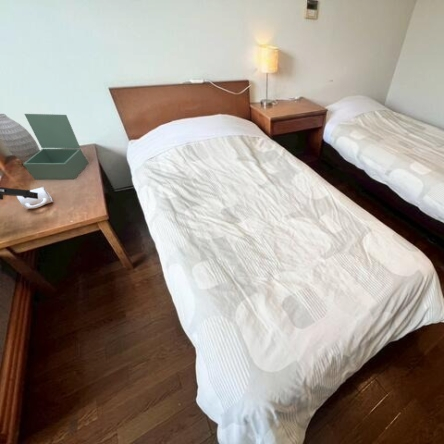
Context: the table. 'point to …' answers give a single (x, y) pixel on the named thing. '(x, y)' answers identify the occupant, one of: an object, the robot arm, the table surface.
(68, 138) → the lid
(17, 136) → the vase
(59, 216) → the table surface
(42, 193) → the mug
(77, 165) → the chest
